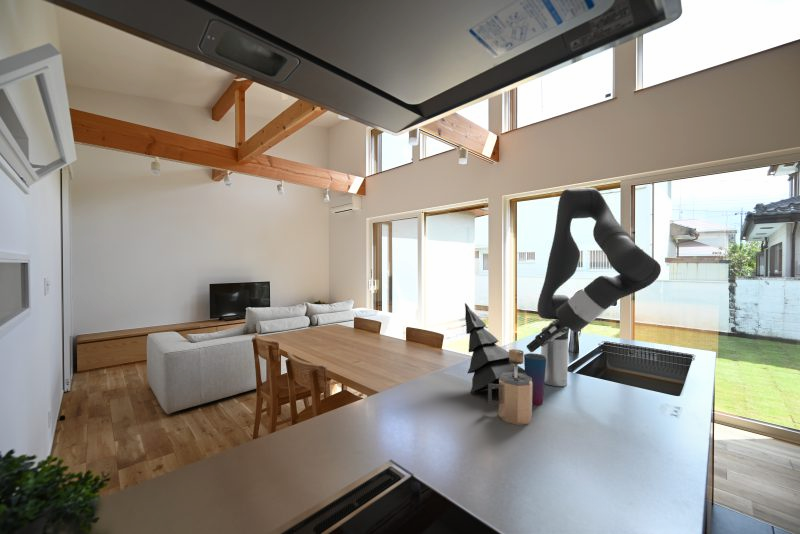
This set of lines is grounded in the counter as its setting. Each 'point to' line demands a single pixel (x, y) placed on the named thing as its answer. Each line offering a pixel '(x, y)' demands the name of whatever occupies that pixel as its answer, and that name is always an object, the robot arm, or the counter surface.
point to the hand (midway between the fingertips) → (534, 346)
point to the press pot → (513, 398)
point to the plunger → (516, 359)
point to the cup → (536, 375)
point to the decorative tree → (485, 355)
